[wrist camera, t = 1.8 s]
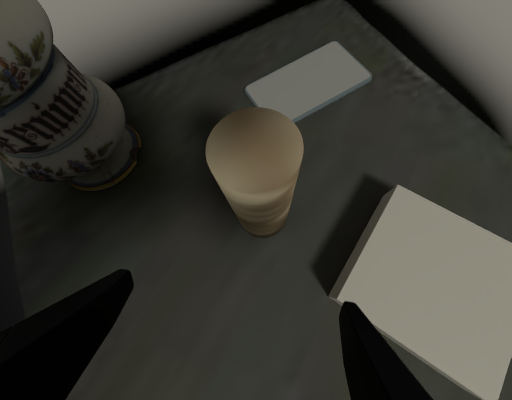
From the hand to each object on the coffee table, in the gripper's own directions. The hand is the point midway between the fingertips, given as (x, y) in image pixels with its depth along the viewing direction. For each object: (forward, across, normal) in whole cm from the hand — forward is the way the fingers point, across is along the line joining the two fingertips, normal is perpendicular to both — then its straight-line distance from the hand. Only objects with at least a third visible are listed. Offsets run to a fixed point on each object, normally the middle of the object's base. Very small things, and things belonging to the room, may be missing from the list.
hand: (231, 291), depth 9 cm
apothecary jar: (+18, +21, +1) cm, 28 cm away
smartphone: (+28, -4, -8) cm, 29 cm away
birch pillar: (+14, 0, +4) cm, 15 cm away
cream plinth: (+11, -15, +8) cm, 20 cm away
